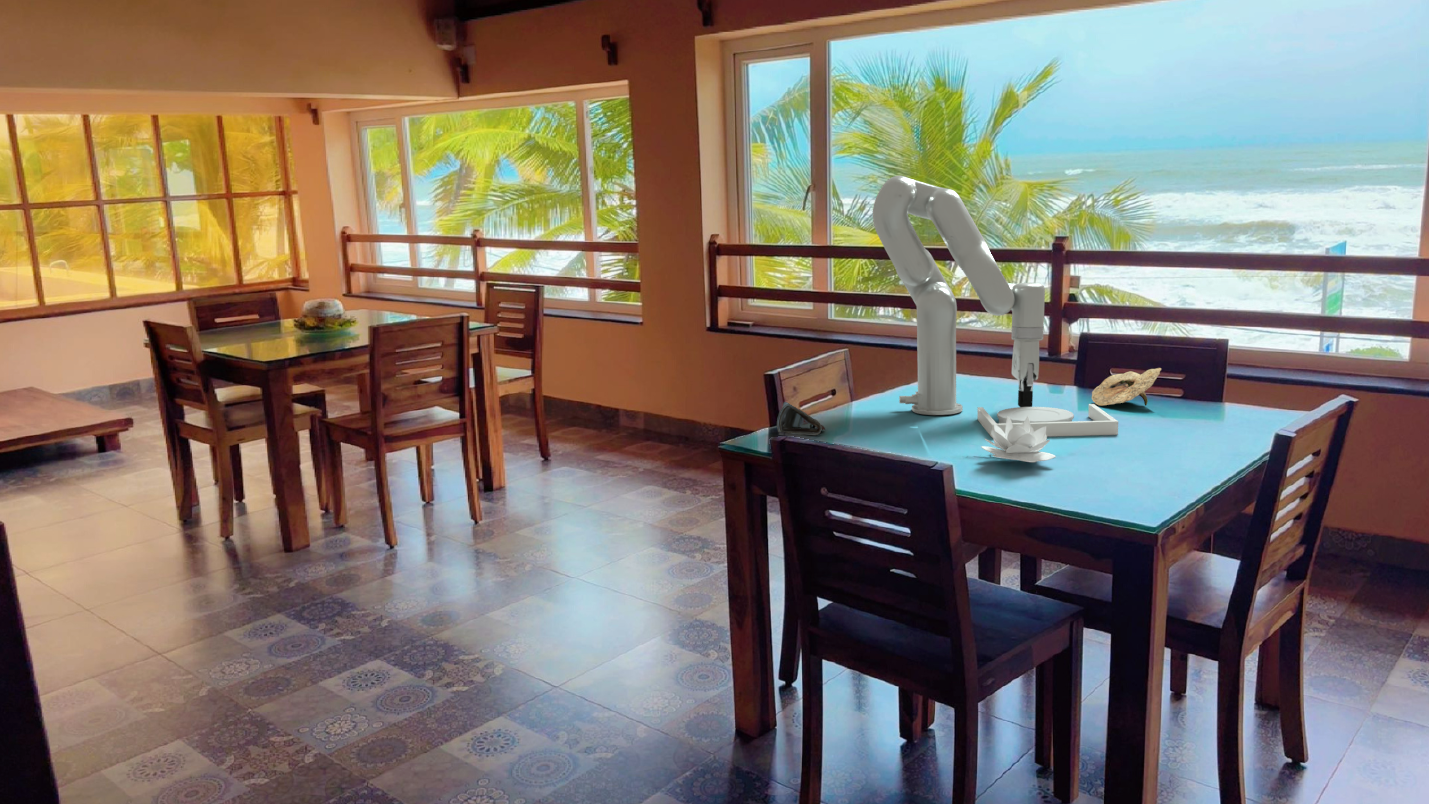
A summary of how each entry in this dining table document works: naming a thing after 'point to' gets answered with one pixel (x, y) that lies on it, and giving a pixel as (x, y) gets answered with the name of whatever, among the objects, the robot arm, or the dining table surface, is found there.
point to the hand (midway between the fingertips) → (1025, 406)
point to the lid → (1035, 415)
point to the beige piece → (1124, 387)
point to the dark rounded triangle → (797, 421)
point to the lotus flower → (1019, 442)
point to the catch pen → (1063, 424)
